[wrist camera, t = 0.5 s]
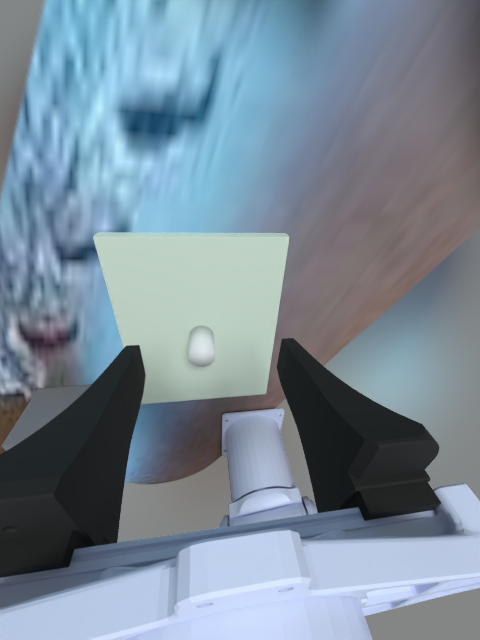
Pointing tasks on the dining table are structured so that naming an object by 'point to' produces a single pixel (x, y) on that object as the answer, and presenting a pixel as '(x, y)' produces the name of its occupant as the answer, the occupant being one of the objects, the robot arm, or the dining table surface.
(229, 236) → the duct base
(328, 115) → the dining table surface
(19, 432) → the duct sleeve
